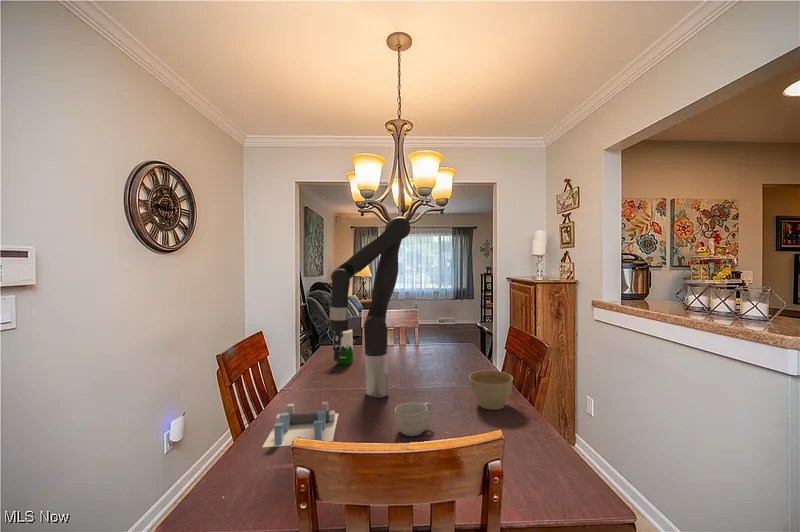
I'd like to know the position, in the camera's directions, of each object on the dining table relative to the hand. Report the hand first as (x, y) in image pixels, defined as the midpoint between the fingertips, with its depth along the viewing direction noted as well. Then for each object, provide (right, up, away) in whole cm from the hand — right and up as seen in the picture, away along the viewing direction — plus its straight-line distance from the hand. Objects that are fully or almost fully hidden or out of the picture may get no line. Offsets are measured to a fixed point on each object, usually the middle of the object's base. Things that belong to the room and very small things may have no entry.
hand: (337, 357), depth 145 cm
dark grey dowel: (-7, -17, -21) cm, 28 cm away
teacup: (+30, -17, -27) cm, 44 cm away
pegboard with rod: (-7, -18, -25) cm, 32 cm away
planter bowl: (+60, -16, -9) cm, 63 cm away
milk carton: (-5, -17, +53) cm, 56 cm away
